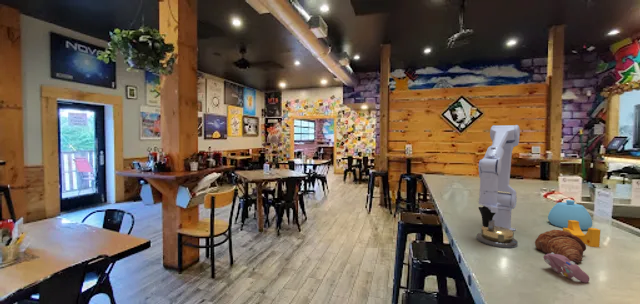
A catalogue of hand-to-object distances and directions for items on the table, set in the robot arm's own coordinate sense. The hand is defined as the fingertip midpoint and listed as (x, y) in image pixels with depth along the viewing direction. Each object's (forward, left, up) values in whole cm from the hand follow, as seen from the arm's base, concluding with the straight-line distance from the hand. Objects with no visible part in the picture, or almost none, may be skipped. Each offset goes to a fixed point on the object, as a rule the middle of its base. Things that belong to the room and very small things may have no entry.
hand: (486, 226), depth 107 cm
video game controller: (+27, 0, -6) cm, 28 cm away
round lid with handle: (+1, +4, -4) cm, 6 cm away
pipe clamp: (+8, +36, -6) cm, 37 cm away
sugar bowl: (-7, +53, -6) cm, 54 cm away
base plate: (+1, +4, -6) cm, 7 cm away
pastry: (+14, +16, -6) cm, 22 cm away
